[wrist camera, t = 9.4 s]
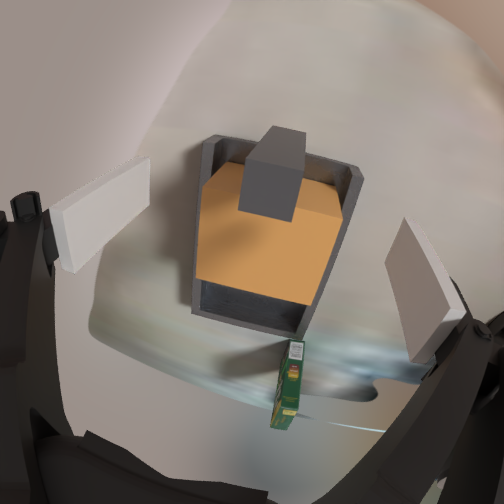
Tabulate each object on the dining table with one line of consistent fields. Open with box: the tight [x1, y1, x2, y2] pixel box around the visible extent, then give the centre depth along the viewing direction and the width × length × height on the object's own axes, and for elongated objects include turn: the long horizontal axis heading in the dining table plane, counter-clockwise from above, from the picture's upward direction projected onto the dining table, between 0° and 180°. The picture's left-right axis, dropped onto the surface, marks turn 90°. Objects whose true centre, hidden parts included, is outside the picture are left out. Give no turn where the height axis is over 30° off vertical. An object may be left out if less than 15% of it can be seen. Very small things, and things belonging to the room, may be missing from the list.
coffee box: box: [270, 339, 305, 430], centre depth 42 cm, size 8×3×13 cm, turn 173°
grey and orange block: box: [196, 126, 343, 306], centre depth 25 cm, size 16×12×16 cm
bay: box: [191, 135, 364, 341], centre depth 35 cm, size 24×16×4 cm, turn 171°
